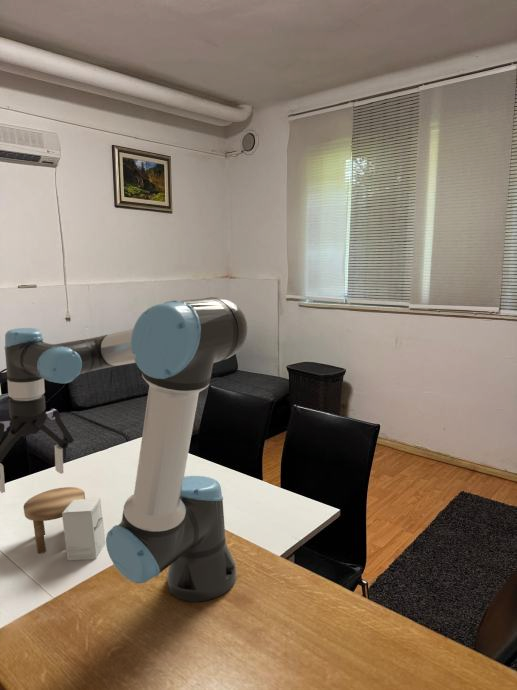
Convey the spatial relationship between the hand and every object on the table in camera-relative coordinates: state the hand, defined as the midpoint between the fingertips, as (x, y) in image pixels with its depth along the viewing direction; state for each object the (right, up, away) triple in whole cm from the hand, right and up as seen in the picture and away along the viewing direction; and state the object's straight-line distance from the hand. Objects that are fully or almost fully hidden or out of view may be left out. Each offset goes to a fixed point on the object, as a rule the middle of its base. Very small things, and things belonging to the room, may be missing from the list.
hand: (31, 480), depth 114 cm
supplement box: (+11, -20, +7) cm, 24 cm away
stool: (+1, -19, +14) cm, 24 cm away
